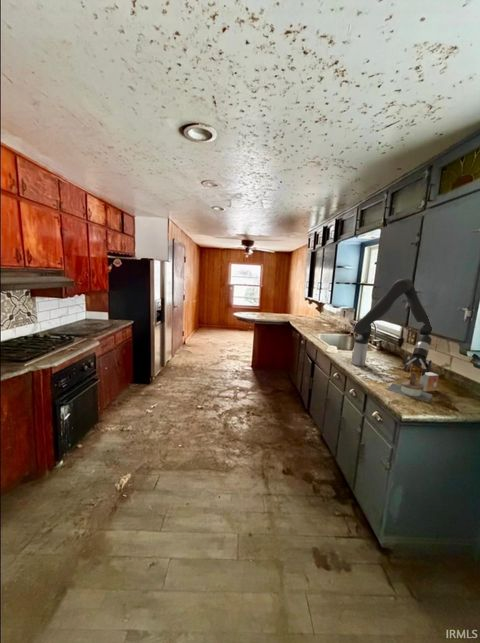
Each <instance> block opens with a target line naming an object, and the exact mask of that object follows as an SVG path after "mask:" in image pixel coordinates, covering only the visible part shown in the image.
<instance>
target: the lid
mask: <svg viewBox="0 0 480 643" xmlns="http://www.w3.org/2000/svg"><path fill="white" fill-rule="evenodd" d="M417 374H418V372H415V371H411V372H410V379H402V380H400V386H402V385H403V386H404V387H407V388H410V389H415V390H422V389H424V385H423V384H421V383H420V381H419V382H418V381H416V380H417ZM422 391H423V390H422Z"/></svg>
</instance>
